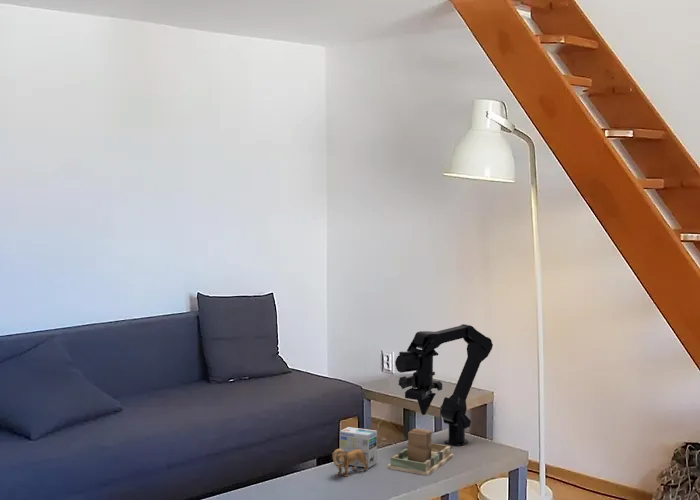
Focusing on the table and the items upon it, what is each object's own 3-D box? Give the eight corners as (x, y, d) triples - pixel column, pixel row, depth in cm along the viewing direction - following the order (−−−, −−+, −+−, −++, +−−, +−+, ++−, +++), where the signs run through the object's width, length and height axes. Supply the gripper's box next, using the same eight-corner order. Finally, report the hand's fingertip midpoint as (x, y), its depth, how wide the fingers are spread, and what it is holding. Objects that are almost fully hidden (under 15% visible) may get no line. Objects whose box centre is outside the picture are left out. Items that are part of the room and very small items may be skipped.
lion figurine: (340, 481, 253) (340, 452, 252) (328, 477, 257) (327, 448, 256) (372, 468, 264) (372, 440, 263) (360, 464, 268) (359, 436, 267)
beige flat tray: (414, 450, 284) (414, 440, 283) (453, 457, 277) (453, 446, 277) (387, 468, 265) (387, 457, 265) (428, 475, 259) (428, 464, 258)
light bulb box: (377, 463, 270) (378, 430, 270) (369, 468, 264) (369, 434, 263) (347, 458, 274) (348, 425, 274) (338, 463, 268) (339, 430, 268)
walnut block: (414, 455, 273) (414, 428, 273) (431, 458, 271) (431, 431, 270) (407, 459, 269) (408, 432, 268) (424, 462, 266) (425, 435, 266)
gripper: (413, 361, 295) (413, 405, 296) (390, 371, 279) (390, 417, 280) (443, 365, 290) (442, 409, 291) (421, 375, 273) (420, 422, 274)
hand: (423, 414), depth 284 cm, fingers closed
